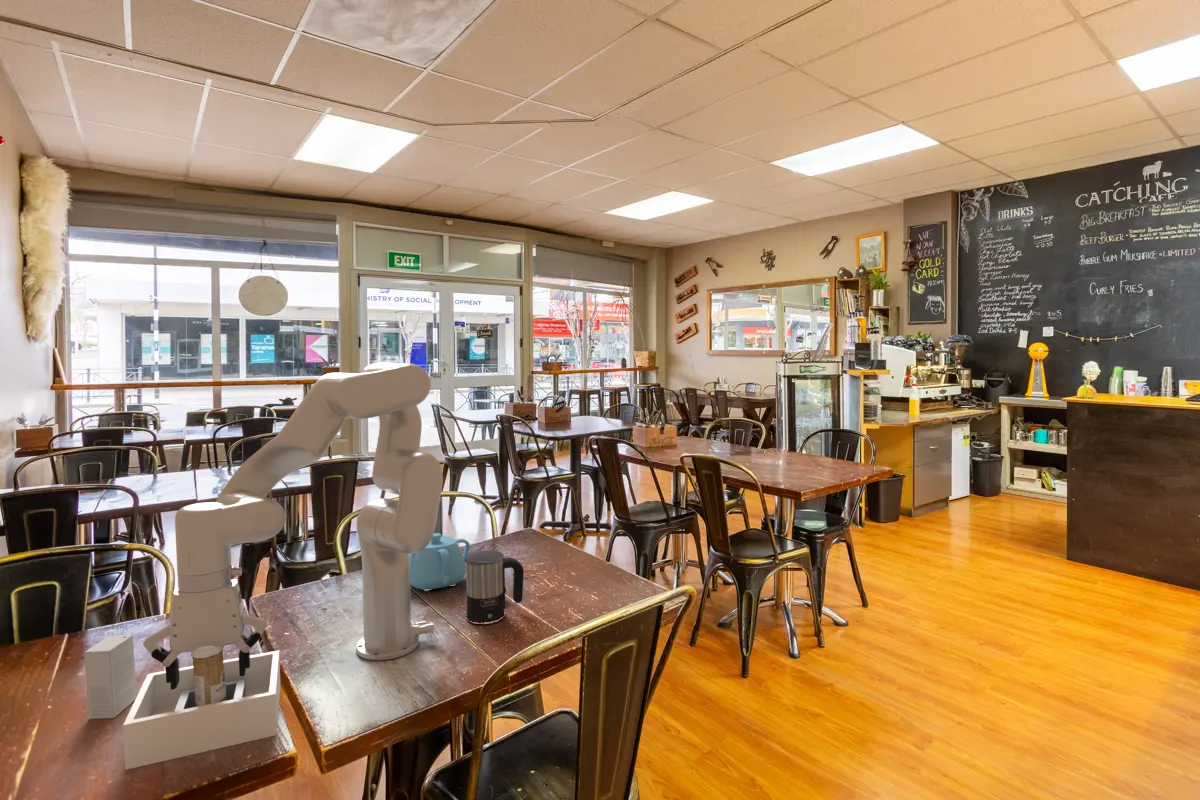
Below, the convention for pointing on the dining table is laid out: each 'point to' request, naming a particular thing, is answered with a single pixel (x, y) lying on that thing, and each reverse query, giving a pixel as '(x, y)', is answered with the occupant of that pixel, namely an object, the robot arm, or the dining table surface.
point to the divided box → (202, 713)
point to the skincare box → (110, 676)
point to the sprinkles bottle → (209, 675)
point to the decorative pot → (438, 563)
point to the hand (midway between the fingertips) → (209, 678)
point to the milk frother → (490, 584)
